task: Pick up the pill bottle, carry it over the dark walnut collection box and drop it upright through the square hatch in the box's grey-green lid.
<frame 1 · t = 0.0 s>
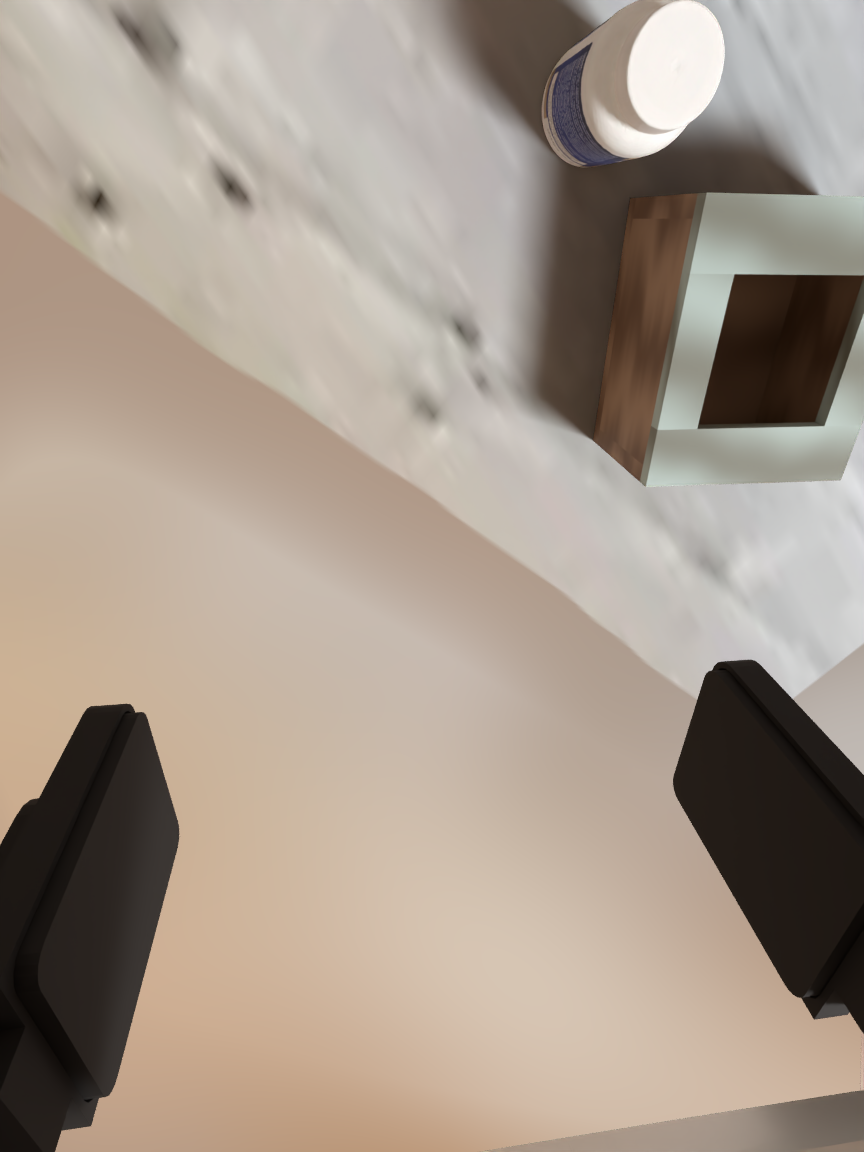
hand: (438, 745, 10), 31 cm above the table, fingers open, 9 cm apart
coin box: (700, 330, 38), on the table
pill bottle: (588, 107, 32), on the table
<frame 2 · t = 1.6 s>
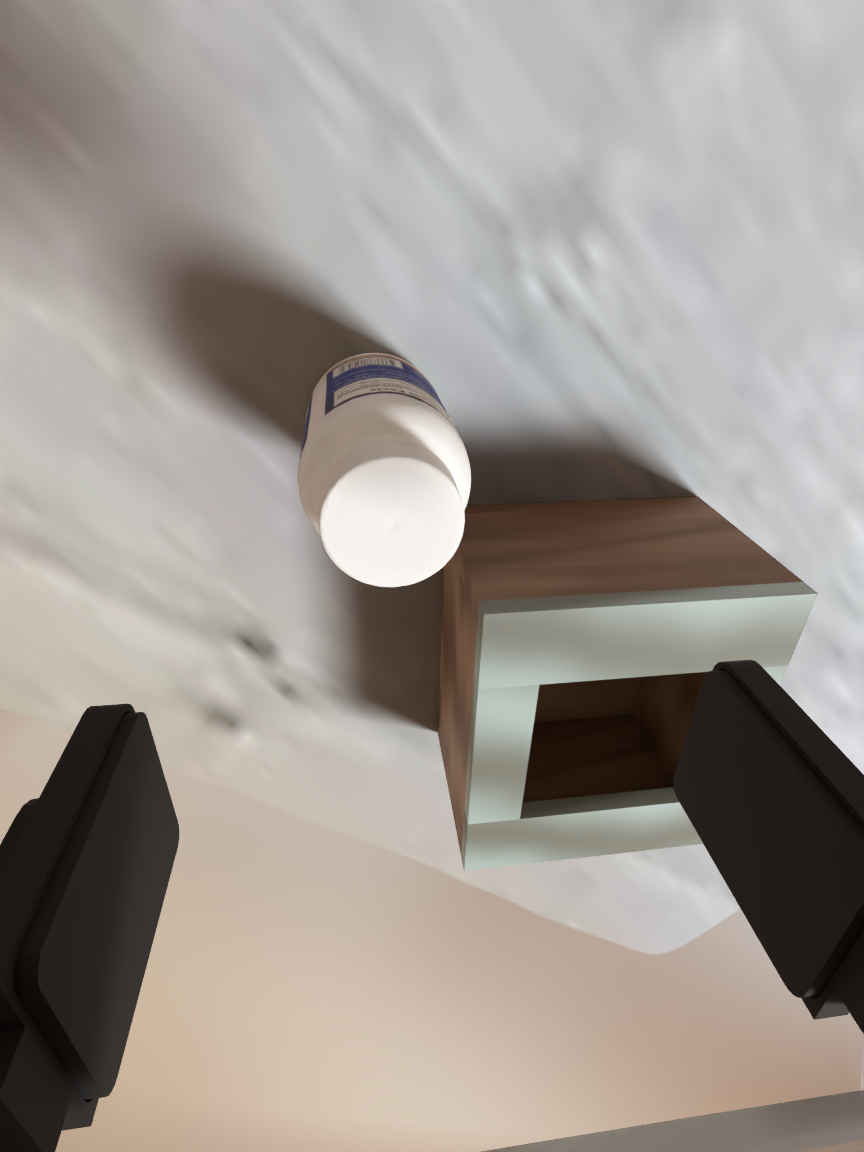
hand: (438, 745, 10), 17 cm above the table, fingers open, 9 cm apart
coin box: (555, 625, 31), on the table
pill bottle: (374, 417, 25), on the table
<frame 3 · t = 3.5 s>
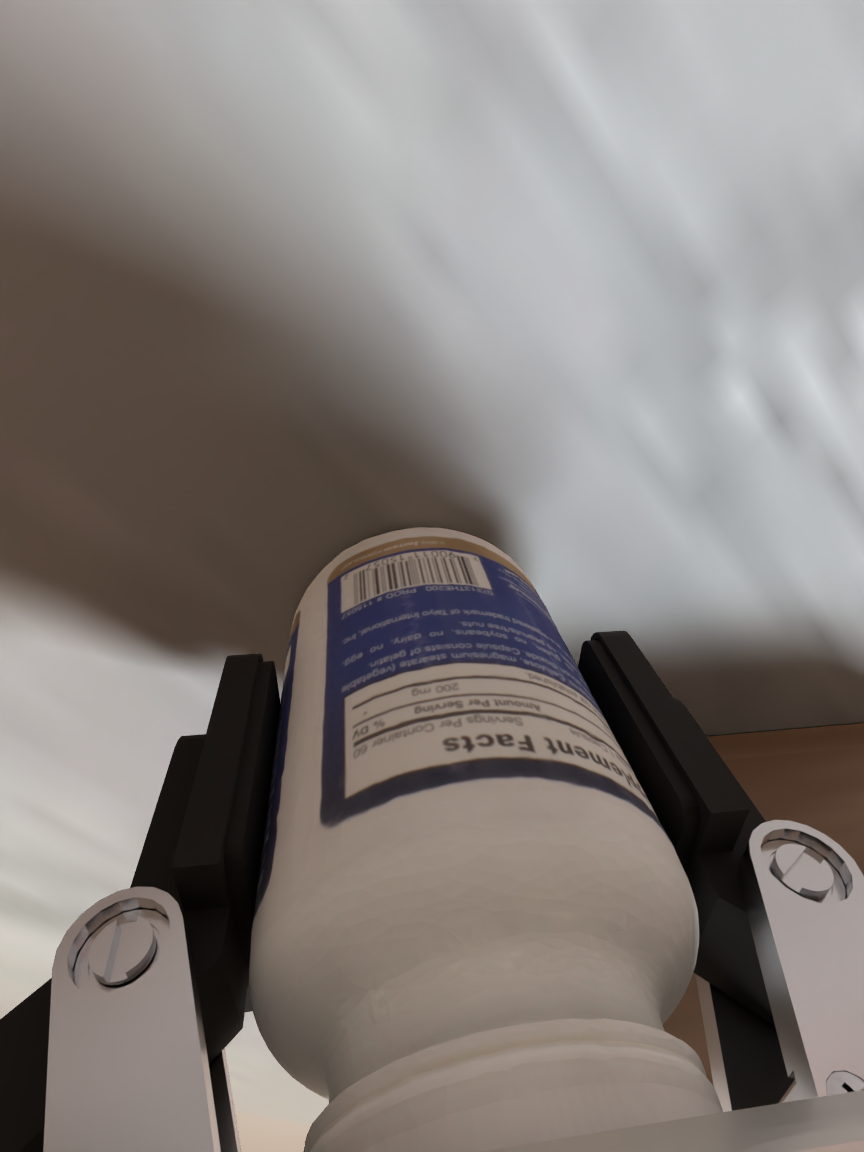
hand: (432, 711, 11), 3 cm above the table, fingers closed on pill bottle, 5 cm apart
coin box: (691, 890, 20), on the table
pill bottle: (417, 625, 13), on the table, touching gripper
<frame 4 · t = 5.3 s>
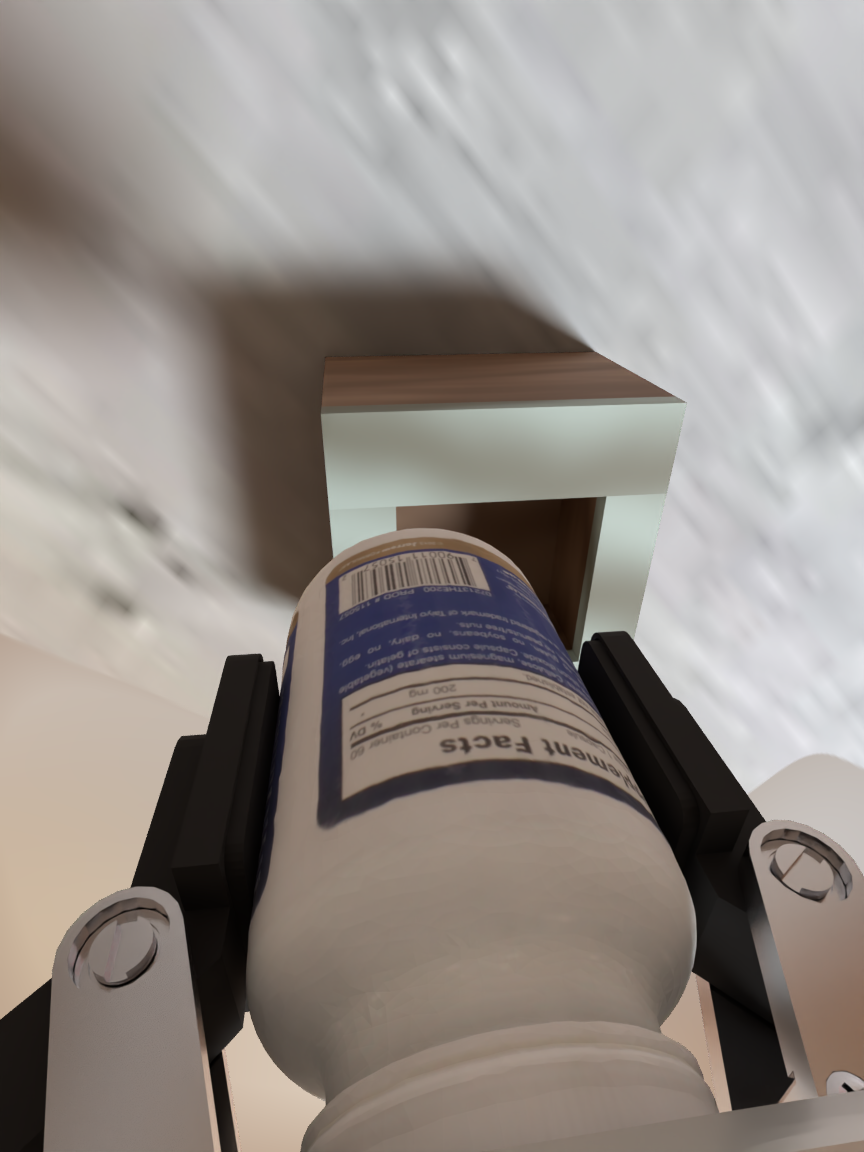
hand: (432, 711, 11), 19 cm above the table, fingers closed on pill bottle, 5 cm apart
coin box: (459, 501, 30), on the table
pill bottle: (415, 626, 13), point 17 cm above the table, touching gripper
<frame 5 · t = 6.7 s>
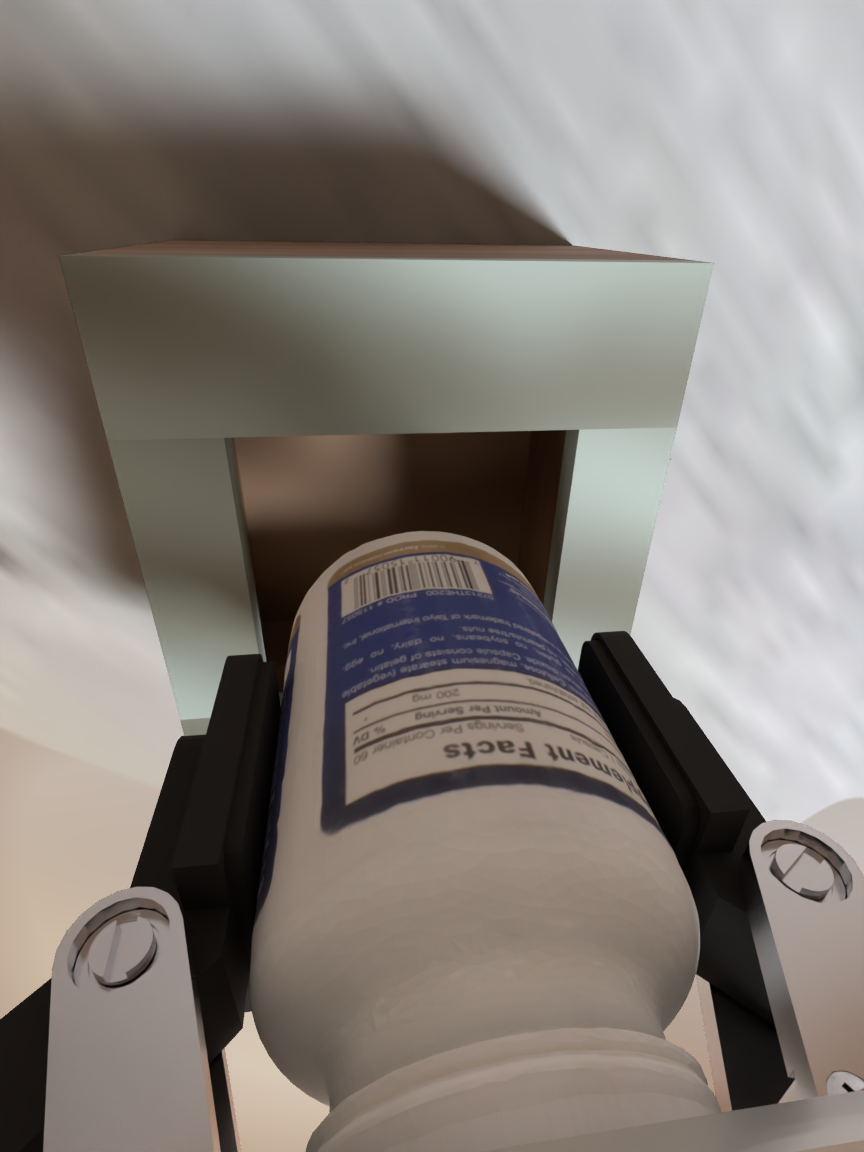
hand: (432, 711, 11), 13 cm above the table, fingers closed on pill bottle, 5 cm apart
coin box: (386, 464, 22), on the table
pill bottle: (417, 629, 13), point 10 cm above the table, touching gripper
when the fingers open (10 cm above the table, at t = 7.6 s): pill bottle drops 6 cm, resting on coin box.
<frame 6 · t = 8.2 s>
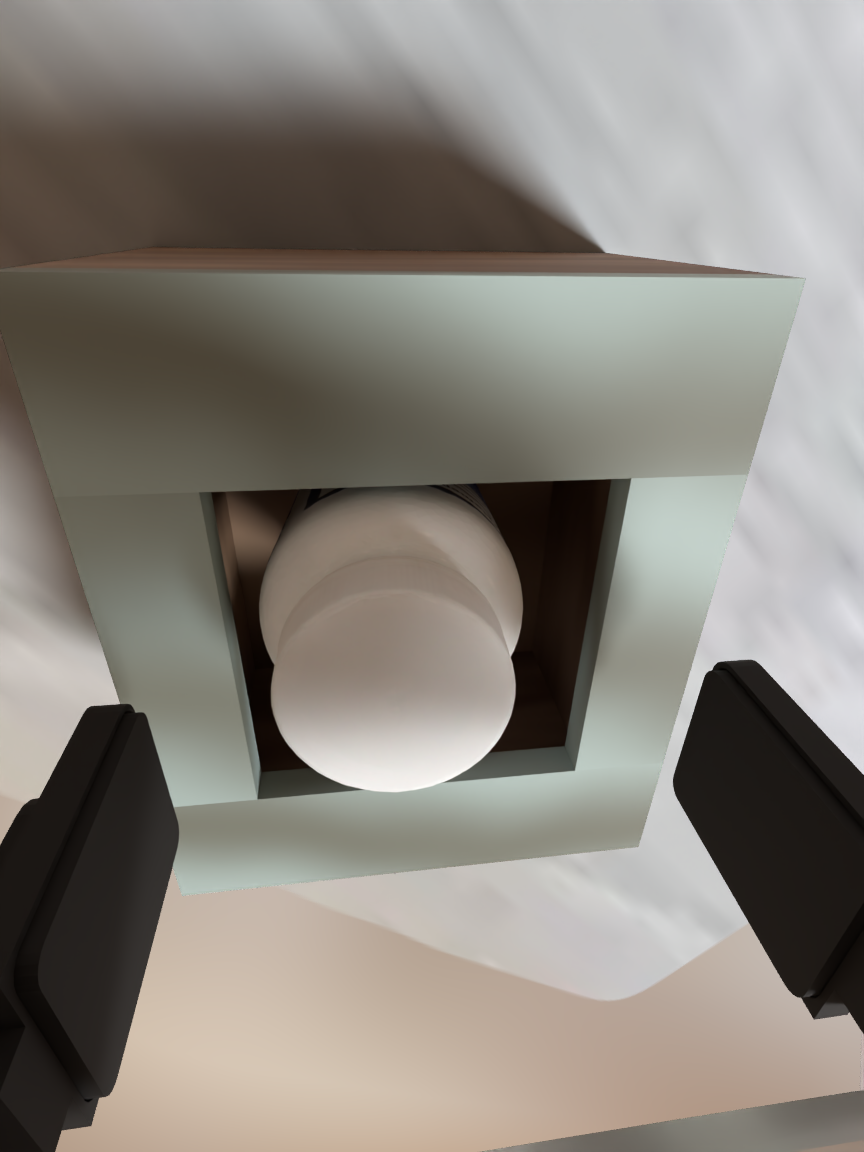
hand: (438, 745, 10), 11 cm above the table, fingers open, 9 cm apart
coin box: (393, 496, 20), on the table
pill bottle: (390, 505, 19), point 1 cm above the table, touching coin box
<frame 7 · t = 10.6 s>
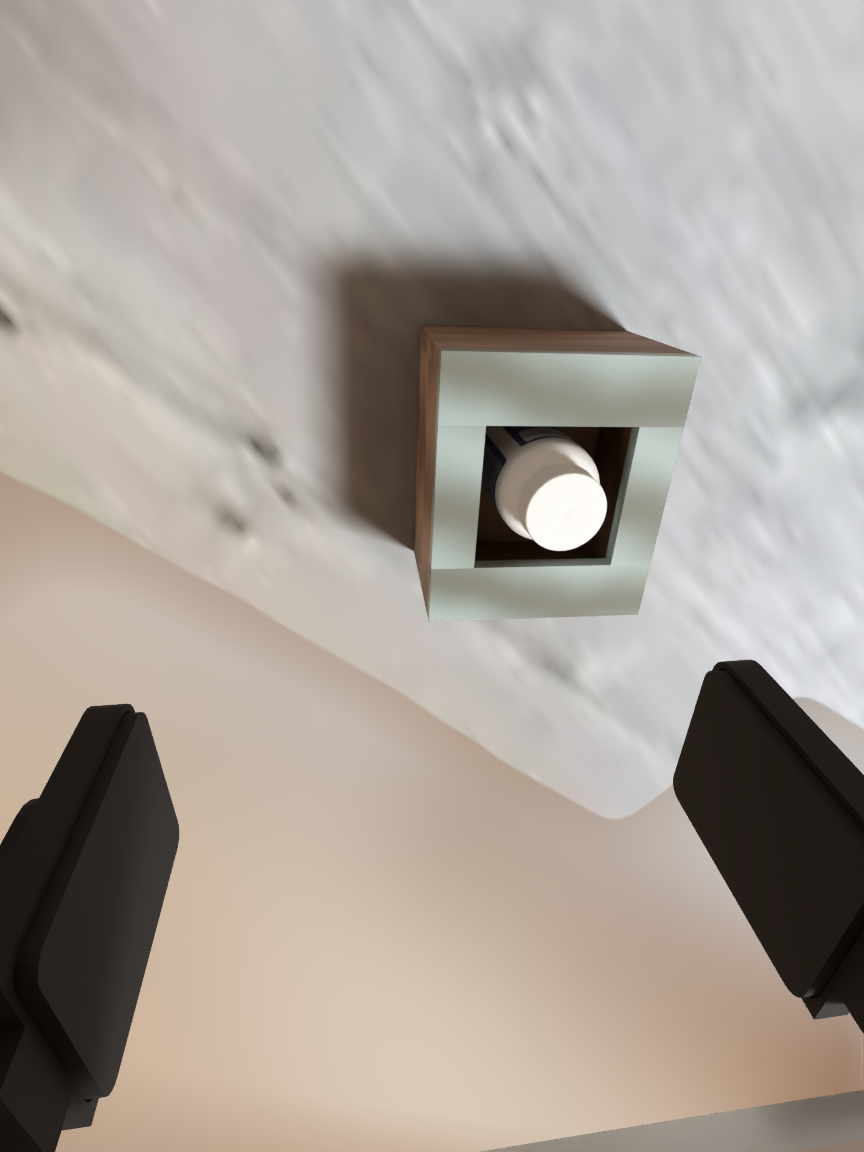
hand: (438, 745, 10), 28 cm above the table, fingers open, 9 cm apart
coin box: (513, 449, 38), on the table
pill bottle: (513, 451, 37), point 1 cm above the table, touching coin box
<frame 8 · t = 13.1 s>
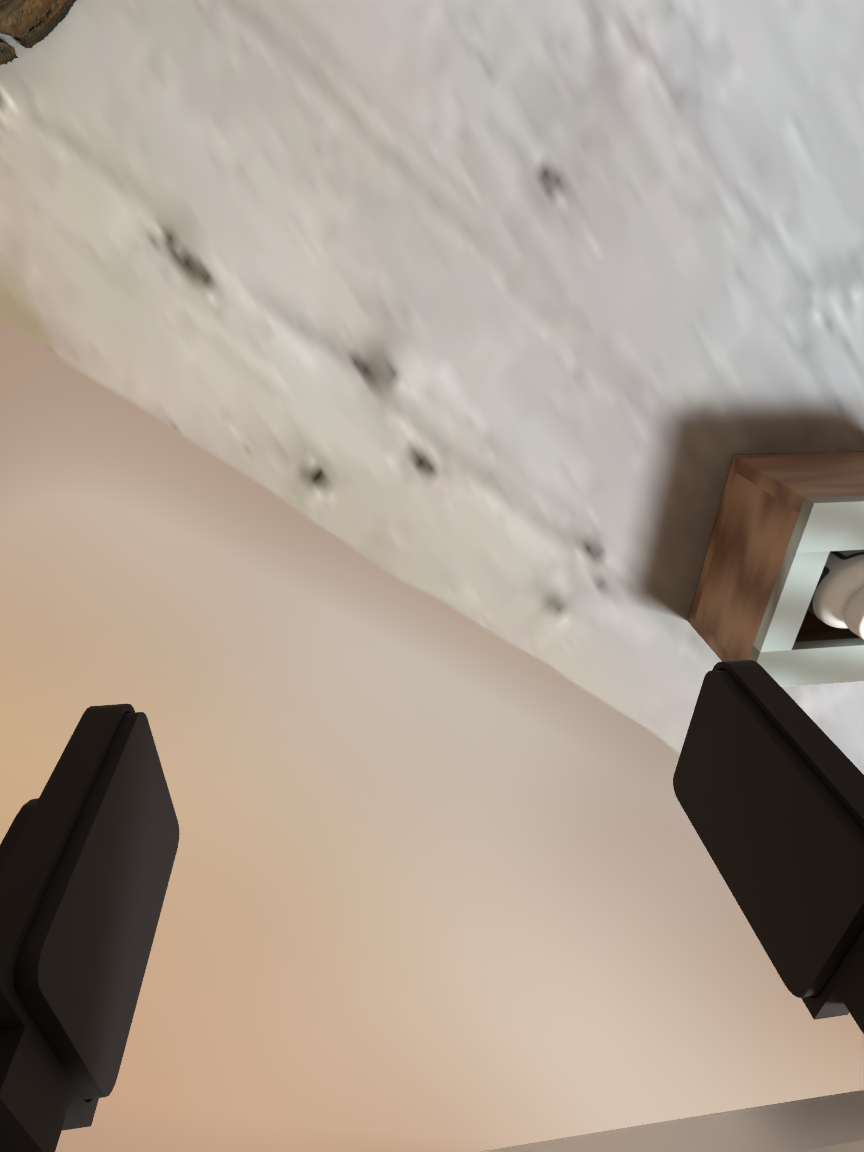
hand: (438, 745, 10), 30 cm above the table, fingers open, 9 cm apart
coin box: (782, 541, 46), on the table
pill bottle: (786, 544, 46), point 1 cm above the table, touching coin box
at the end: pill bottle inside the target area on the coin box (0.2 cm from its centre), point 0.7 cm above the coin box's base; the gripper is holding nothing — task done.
